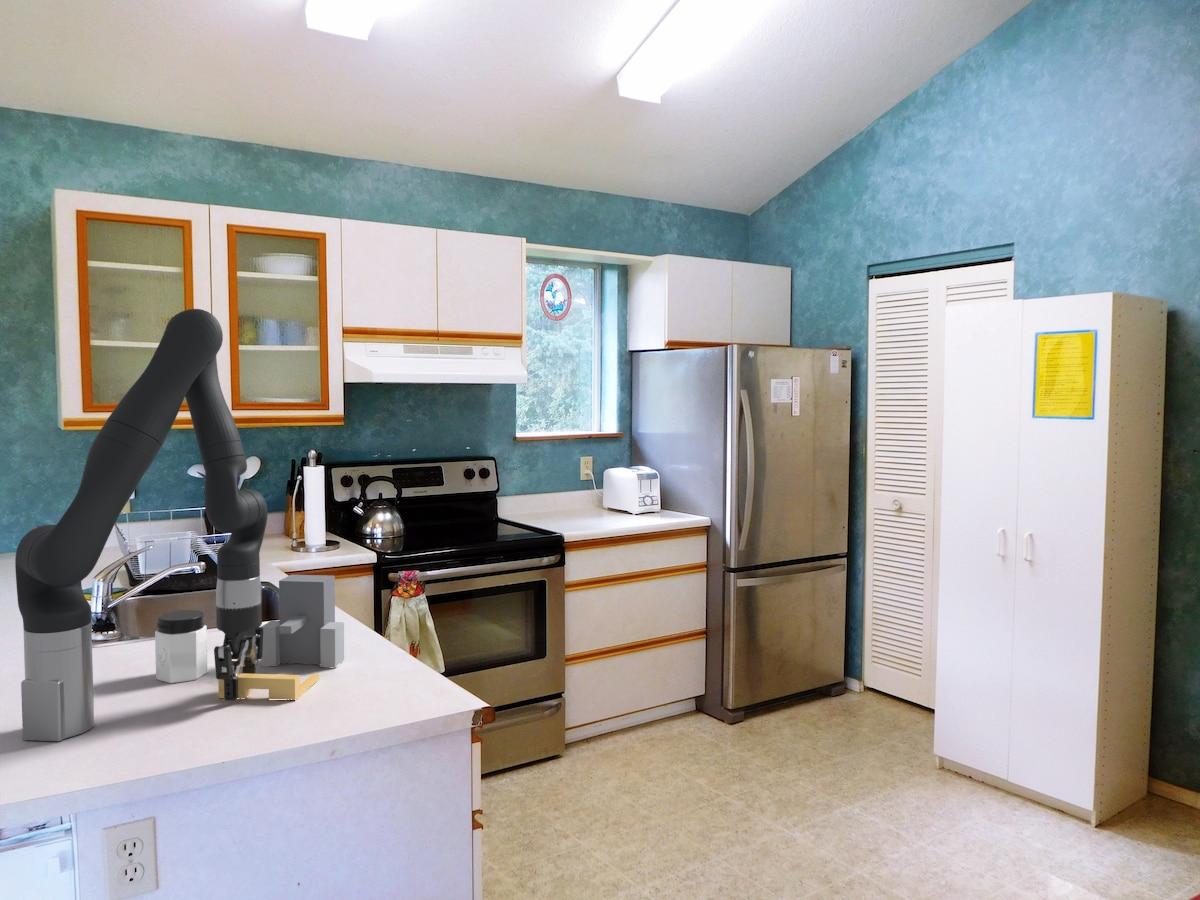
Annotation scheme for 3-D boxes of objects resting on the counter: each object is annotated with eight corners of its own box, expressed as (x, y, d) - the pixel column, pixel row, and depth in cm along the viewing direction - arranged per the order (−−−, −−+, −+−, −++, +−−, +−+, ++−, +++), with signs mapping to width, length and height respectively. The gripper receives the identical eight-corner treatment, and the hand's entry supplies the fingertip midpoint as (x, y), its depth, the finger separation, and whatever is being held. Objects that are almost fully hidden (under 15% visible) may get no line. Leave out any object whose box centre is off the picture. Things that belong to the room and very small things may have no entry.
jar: (147, 678, 163) (146, 616, 162) (186, 666, 170) (185, 607, 169) (176, 686, 158) (175, 623, 157) (215, 674, 165) (214, 613, 164)
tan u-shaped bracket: (295, 701, 151) (294, 679, 151) (218, 698, 152) (218, 676, 152) (319, 680, 163) (318, 659, 162) (247, 677, 163) (247, 657, 163)
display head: (324, 678, 164) (323, 591, 162) (247, 675, 164) (246, 589, 163) (349, 656, 177) (348, 576, 176) (278, 654, 178) (277, 574, 177)
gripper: (240, 612, 145) (241, 708, 146) (277, 592, 159) (278, 680, 160) (197, 611, 145) (199, 706, 146) (238, 591, 159) (239, 678, 160)
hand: (240, 692), depth 153 cm, fingers open, 6 cm apart
